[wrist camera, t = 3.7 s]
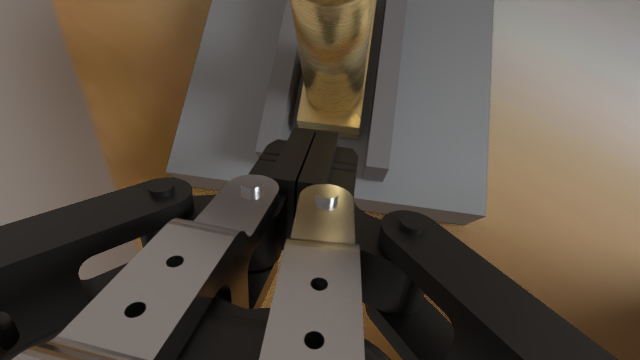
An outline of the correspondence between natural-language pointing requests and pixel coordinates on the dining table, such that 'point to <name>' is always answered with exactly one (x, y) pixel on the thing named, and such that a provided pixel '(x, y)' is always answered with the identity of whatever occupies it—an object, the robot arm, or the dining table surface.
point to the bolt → (333, 62)
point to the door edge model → (377, 111)
